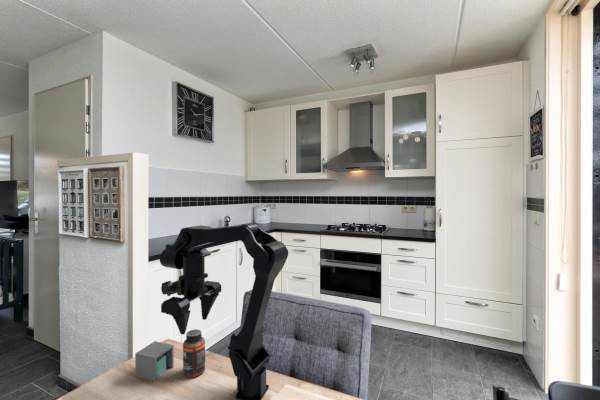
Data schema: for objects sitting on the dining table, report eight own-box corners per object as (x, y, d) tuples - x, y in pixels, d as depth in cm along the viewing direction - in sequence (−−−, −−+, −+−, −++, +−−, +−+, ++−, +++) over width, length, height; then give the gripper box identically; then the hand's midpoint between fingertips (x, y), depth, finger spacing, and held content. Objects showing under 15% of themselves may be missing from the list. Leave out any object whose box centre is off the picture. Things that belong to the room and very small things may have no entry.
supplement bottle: (209, 366, 85) (208, 327, 84) (200, 379, 79) (199, 338, 78) (189, 364, 85) (189, 326, 85) (179, 377, 79) (178, 337, 79)
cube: (166, 369, 83) (166, 355, 83) (155, 377, 79) (155, 363, 79) (155, 366, 85) (154, 353, 84) (143, 375, 81) (143, 360, 81)
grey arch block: (173, 367, 84) (173, 345, 84) (155, 381, 78) (155, 357, 77) (155, 362, 86) (154, 341, 86) (135, 376, 80) (135, 353, 80)
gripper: (192, 261, 92) (192, 309, 93) (143, 277, 75) (144, 337, 75) (222, 264, 89) (222, 314, 89) (179, 282, 71) (179, 345, 72)
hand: (194, 326), depth 82 cm, fingers open, 9 cm apart
